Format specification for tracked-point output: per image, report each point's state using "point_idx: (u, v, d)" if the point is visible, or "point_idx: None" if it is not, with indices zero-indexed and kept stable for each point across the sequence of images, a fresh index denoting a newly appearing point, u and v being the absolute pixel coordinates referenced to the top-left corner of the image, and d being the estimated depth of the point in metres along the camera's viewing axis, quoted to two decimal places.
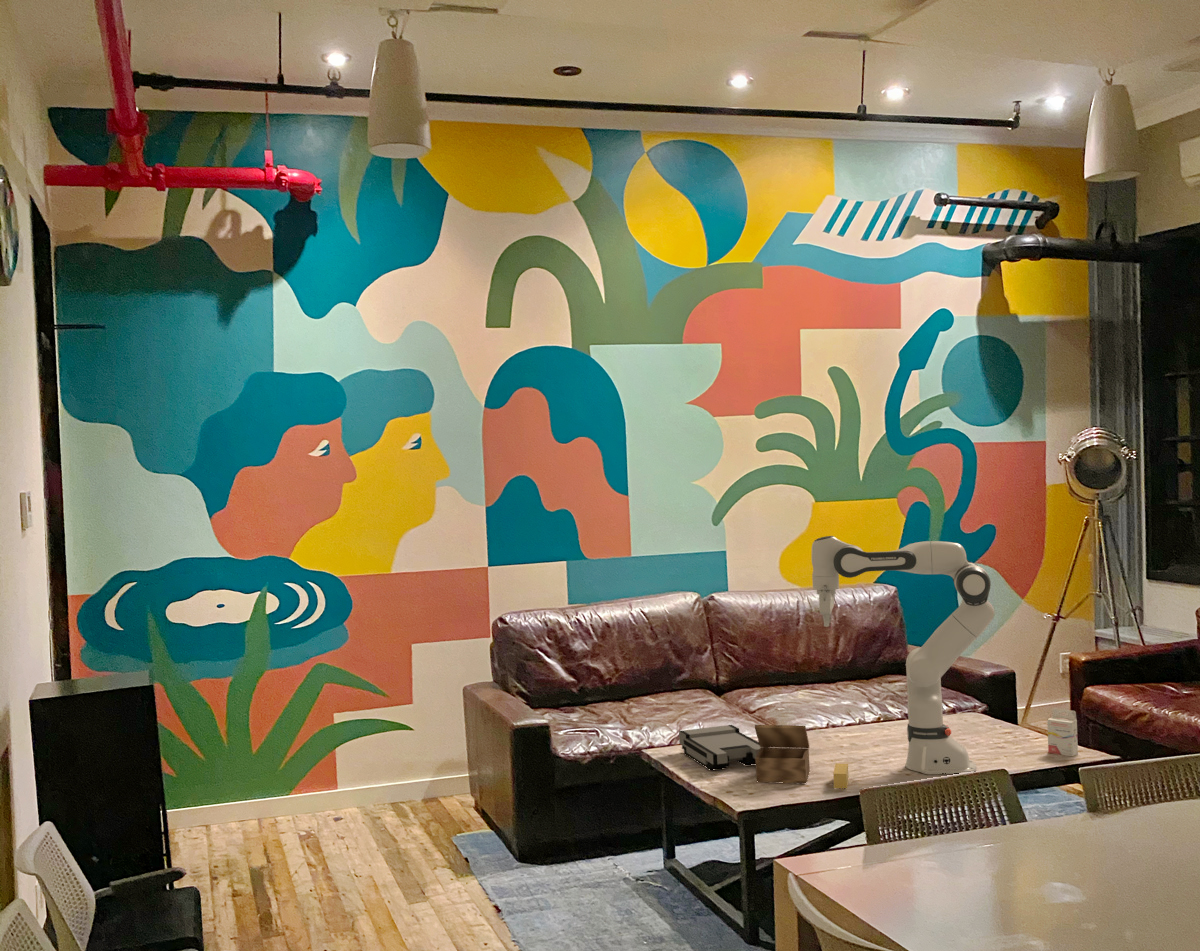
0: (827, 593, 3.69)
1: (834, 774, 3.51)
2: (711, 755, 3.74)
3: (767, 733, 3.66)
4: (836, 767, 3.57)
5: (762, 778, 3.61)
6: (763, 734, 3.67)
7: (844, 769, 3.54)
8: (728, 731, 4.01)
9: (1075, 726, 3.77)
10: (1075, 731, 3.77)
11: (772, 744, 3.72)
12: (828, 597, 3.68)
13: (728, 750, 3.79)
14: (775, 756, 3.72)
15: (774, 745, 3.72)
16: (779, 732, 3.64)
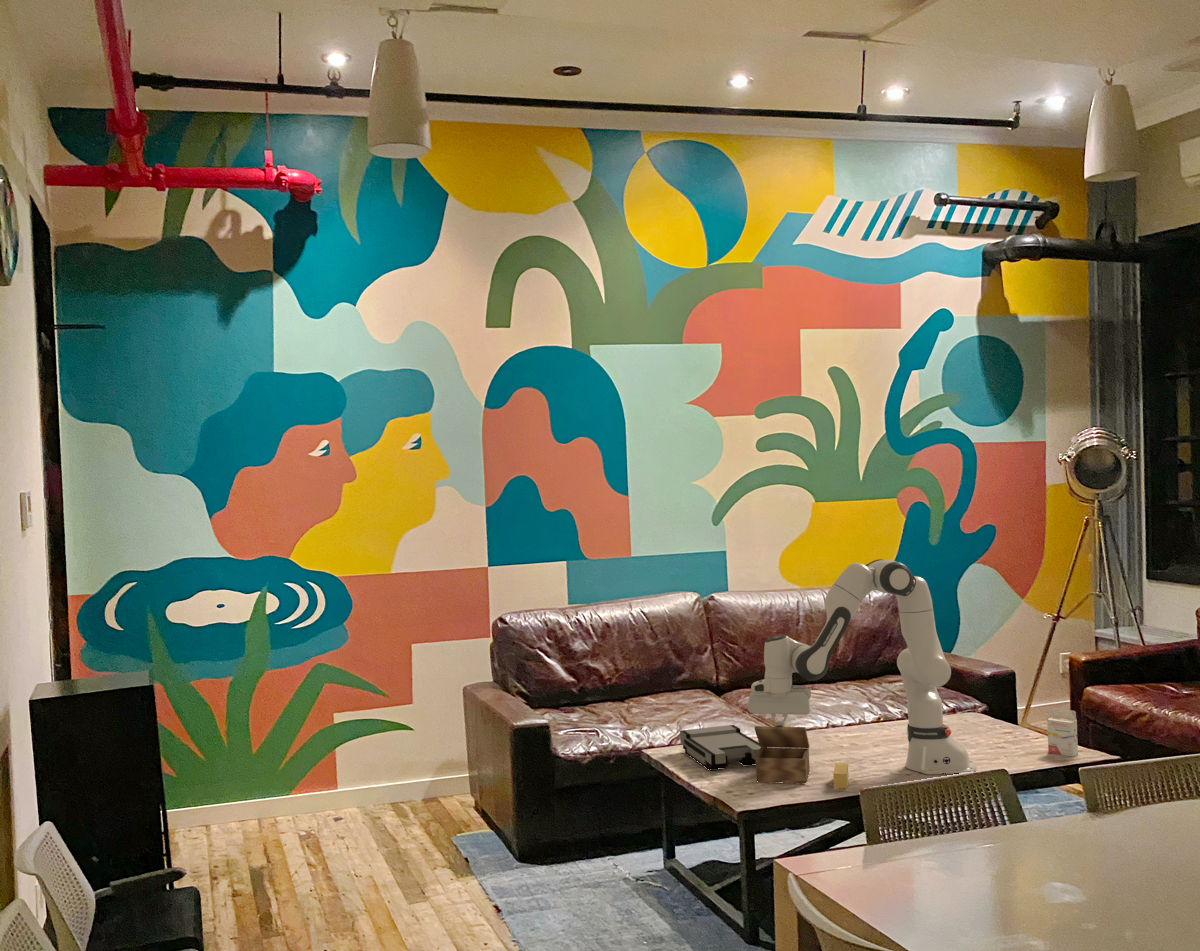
0: None
1: (834, 774, 3.51)
2: (709, 755, 3.74)
3: (767, 734, 3.66)
4: (836, 767, 3.57)
5: (762, 778, 3.61)
6: (763, 735, 3.67)
7: (844, 769, 3.54)
8: (729, 731, 4.01)
9: (1075, 726, 3.77)
10: (1075, 731, 3.77)
11: (772, 745, 3.72)
12: None
13: (727, 750, 3.79)
14: (775, 756, 3.72)
15: (774, 746, 3.72)
16: (779, 733, 3.64)
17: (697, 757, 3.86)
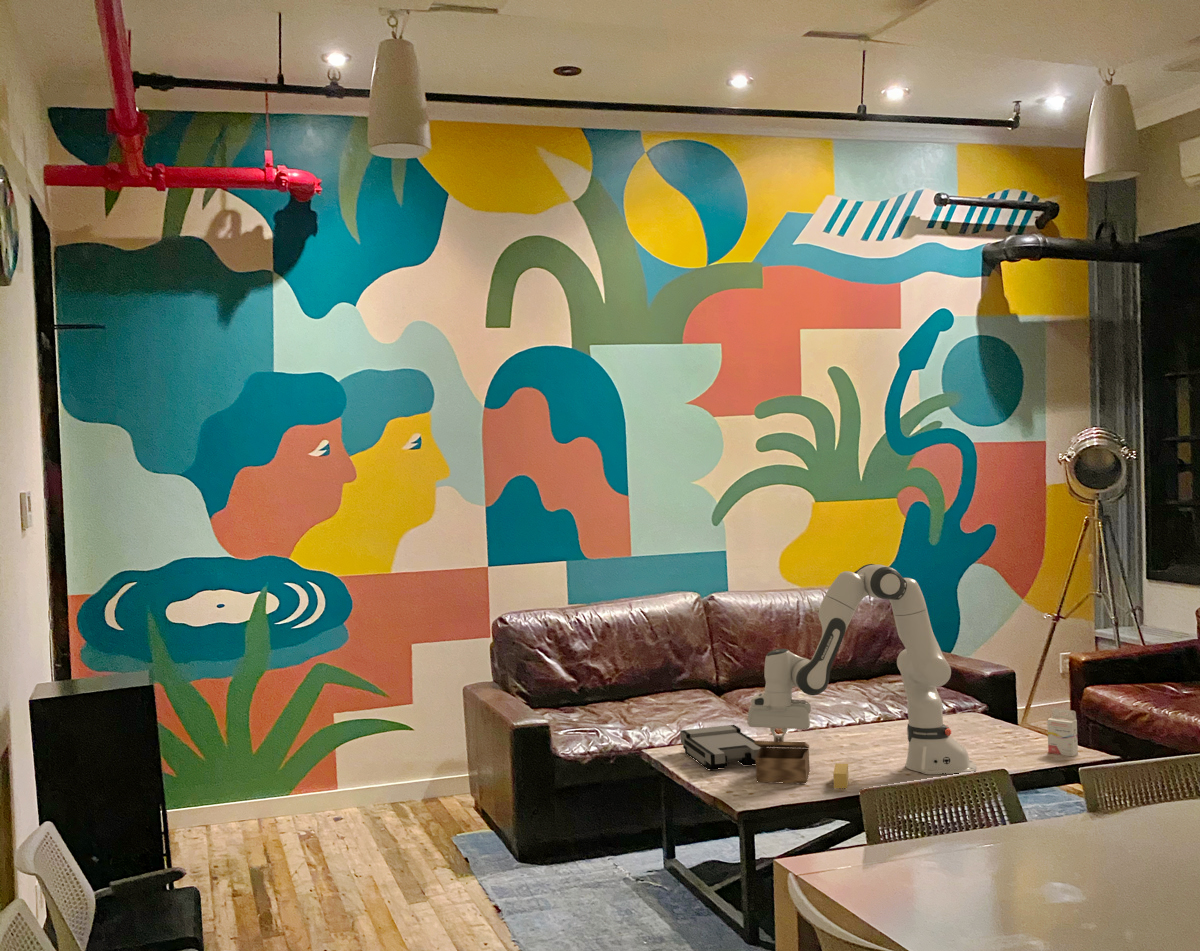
0: None
1: (834, 774, 3.51)
2: (709, 755, 3.74)
3: None
4: (836, 767, 3.57)
5: (762, 778, 3.61)
6: (763, 745, 3.65)
7: (844, 769, 3.54)
8: (729, 731, 4.01)
9: (1075, 726, 3.77)
10: (1075, 731, 3.77)
11: None
12: None
13: (726, 750, 3.79)
14: (775, 756, 3.72)
15: None
16: (778, 745, 3.62)
17: (697, 757, 3.86)
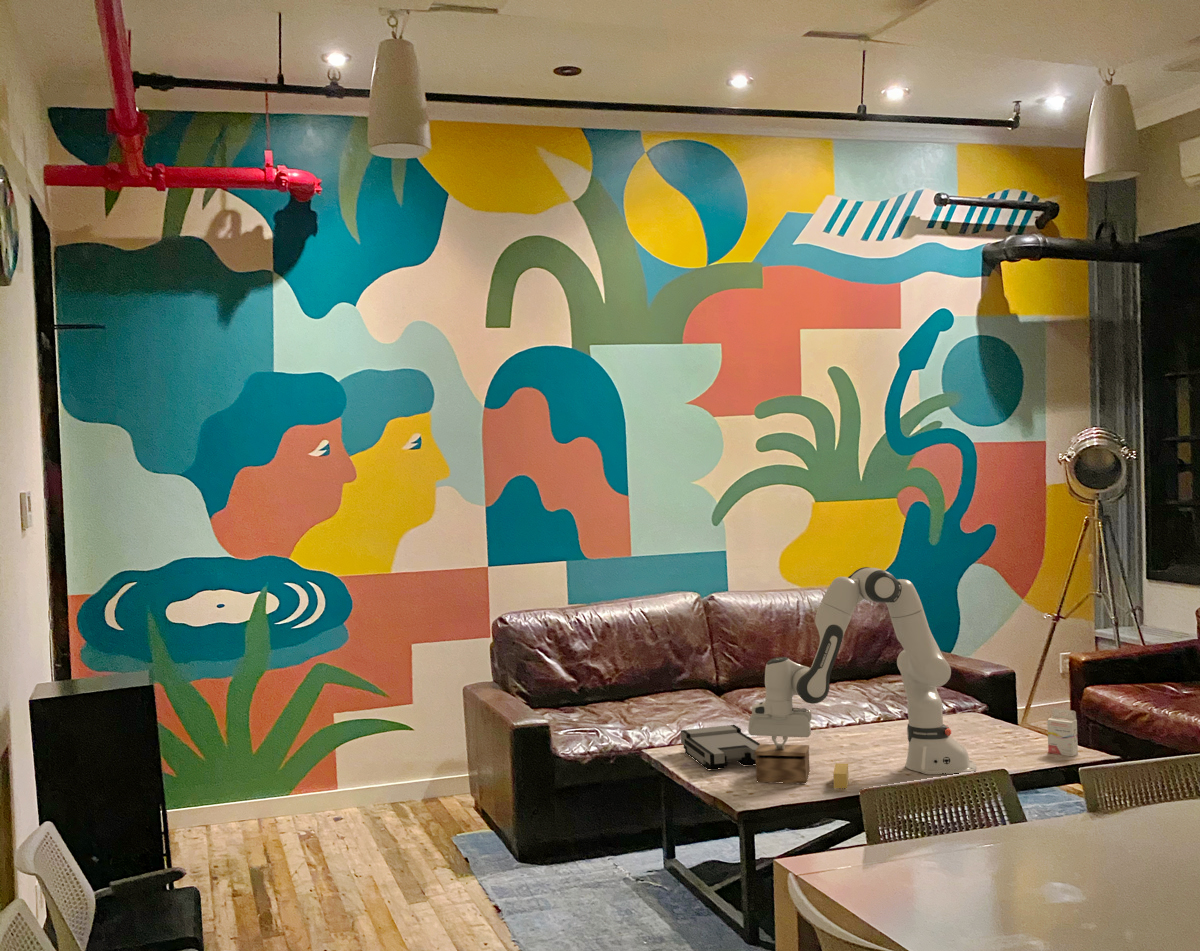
0: None
1: (834, 774, 3.51)
2: (708, 755, 3.74)
3: None
4: (836, 767, 3.57)
5: (762, 778, 3.61)
6: None
7: (844, 769, 3.54)
8: (729, 731, 4.01)
9: (1075, 726, 3.77)
10: (1075, 731, 3.77)
11: None
12: None
13: (726, 750, 3.79)
14: (775, 756, 3.72)
15: None
16: None
17: (697, 757, 3.86)
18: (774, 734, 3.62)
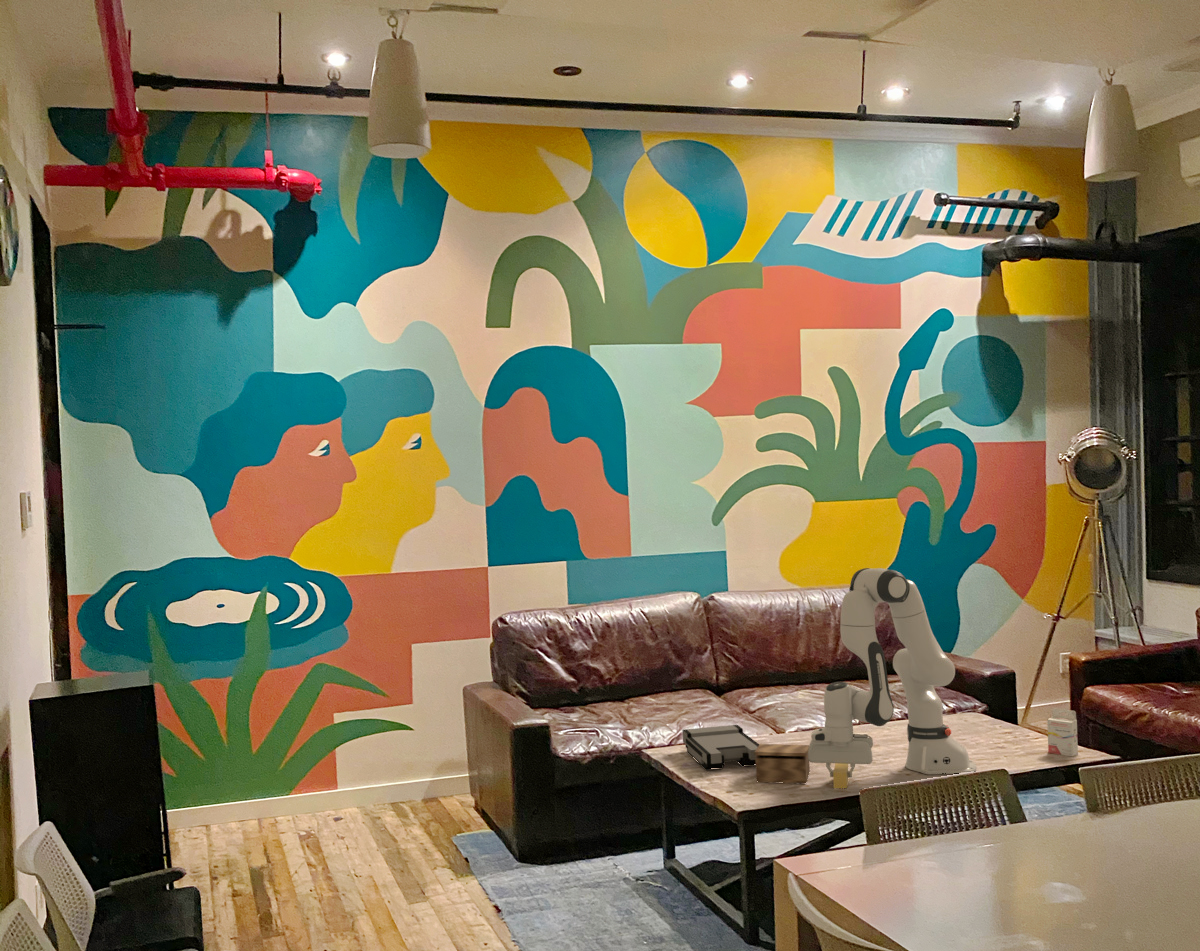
0: None
1: (834, 773, 3.51)
2: (705, 754, 3.75)
3: None
4: (836, 766, 3.57)
5: (762, 778, 3.61)
6: None
7: (844, 769, 3.54)
8: (731, 731, 4.01)
9: (1075, 726, 3.77)
10: (1075, 731, 3.77)
11: None
12: None
13: (724, 750, 3.79)
14: (775, 756, 3.72)
15: None
16: None
17: (696, 756, 3.87)
18: (835, 761, 3.55)
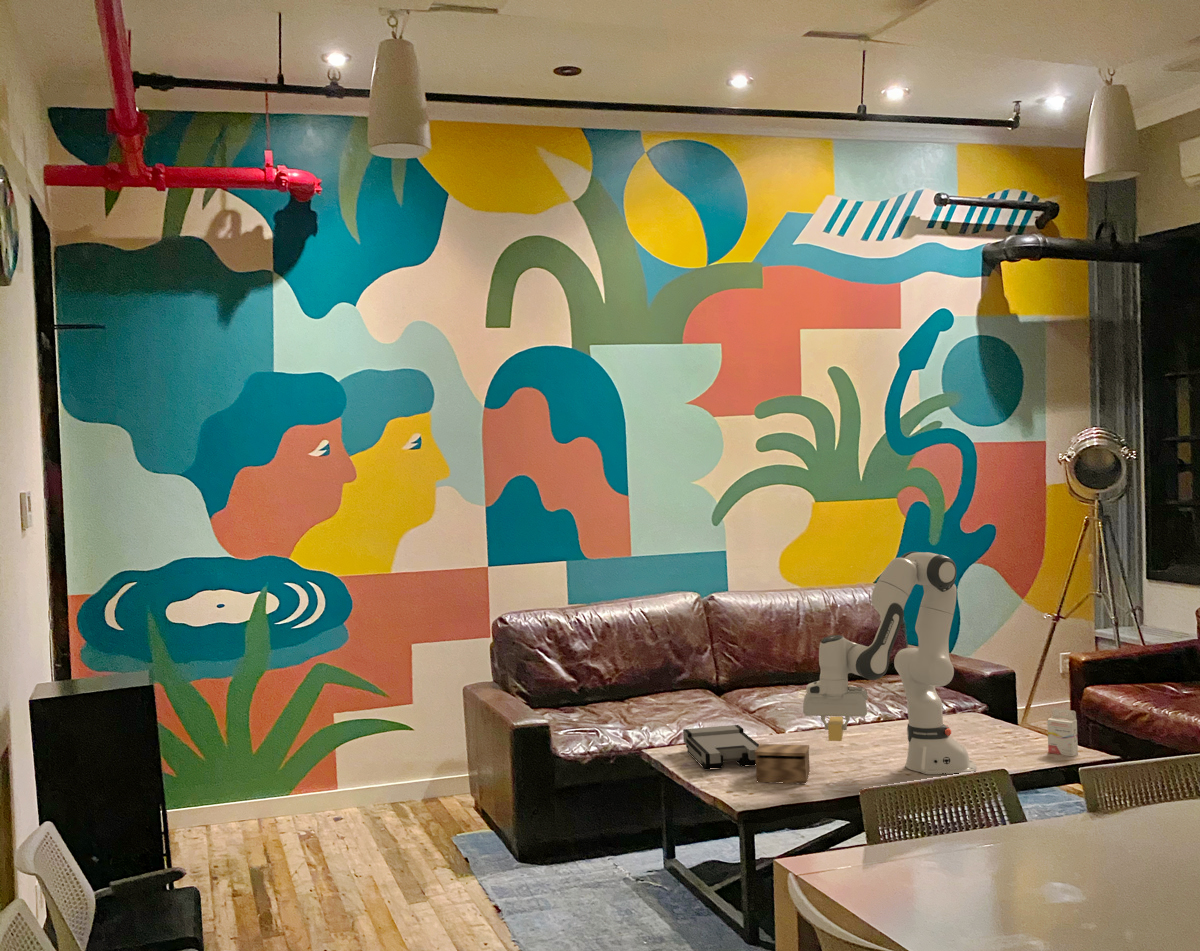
0: None
1: (829, 725, 3.51)
2: (704, 754, 3.75)
3: None
4: (831, 719, 3.58)
5: (762, 778, 3.61)
6: None
7: (839, 721, 3.55)
8: (732, 731, 4.01)
9: (1075, 726, 3.77)
10: (1075, 731, 3.77)
11: None
12: None
13: (723, 750, 3.79)
14: (775, 756, 3.72)
15: None
16: None
17: (695, 756, 3.87)
18: (830, 714, 3.55)
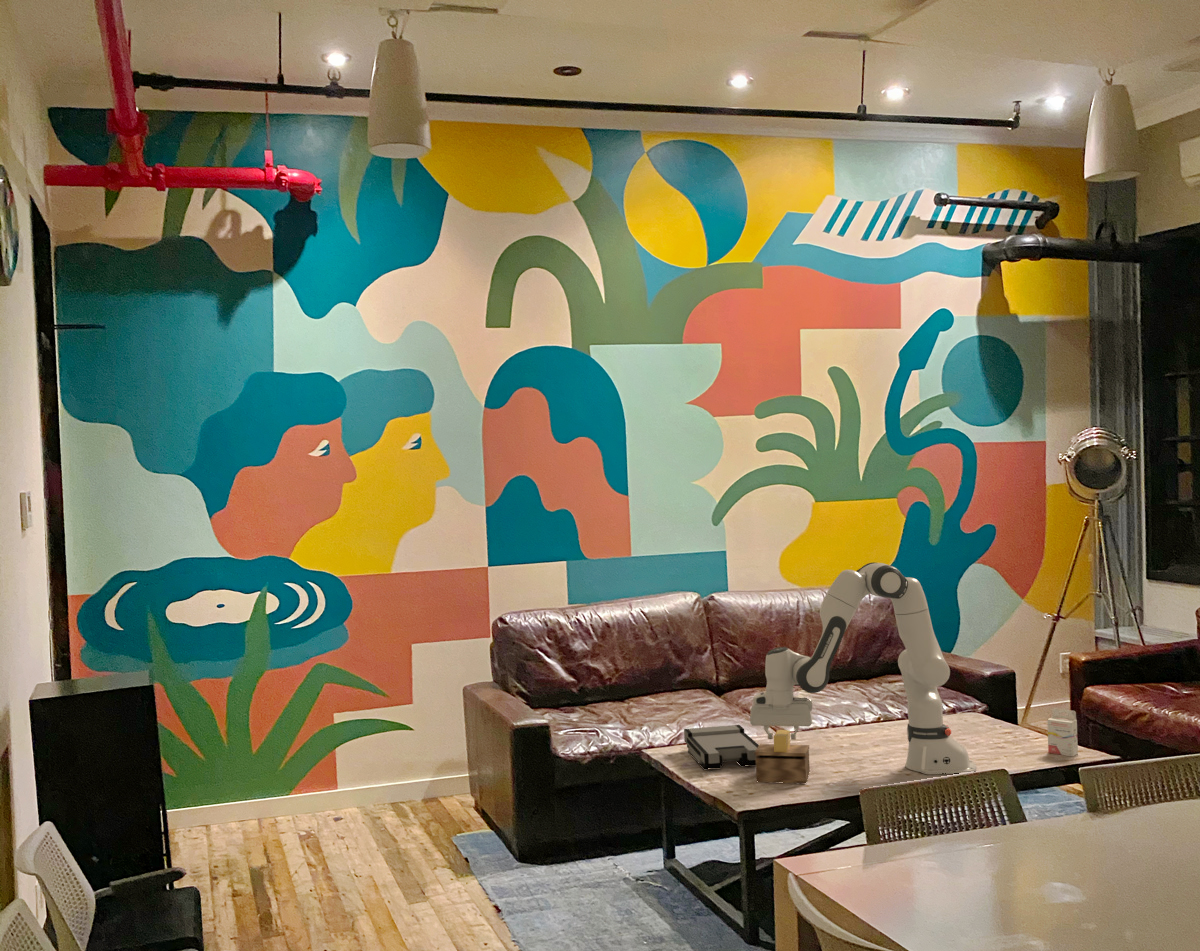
0: None
1: (774, 737, 3.61)
2: (703, 754, 3.75)
3: None
4: (777, 732, 3.67)
5: (762, 778, 3.61)
6: None
7: (785, 733, 3.64)
8: (732, 731, 4.01)
9: (1075, 726, 3.77)
10: (1075, 731, 3.77)
11: None
12: None
13: (722, 750, 3.79)
14: (775, 756, 3.72)
15: None
16: None
17: (695, 756, 3.88)
18: (776, 724, 3.64)
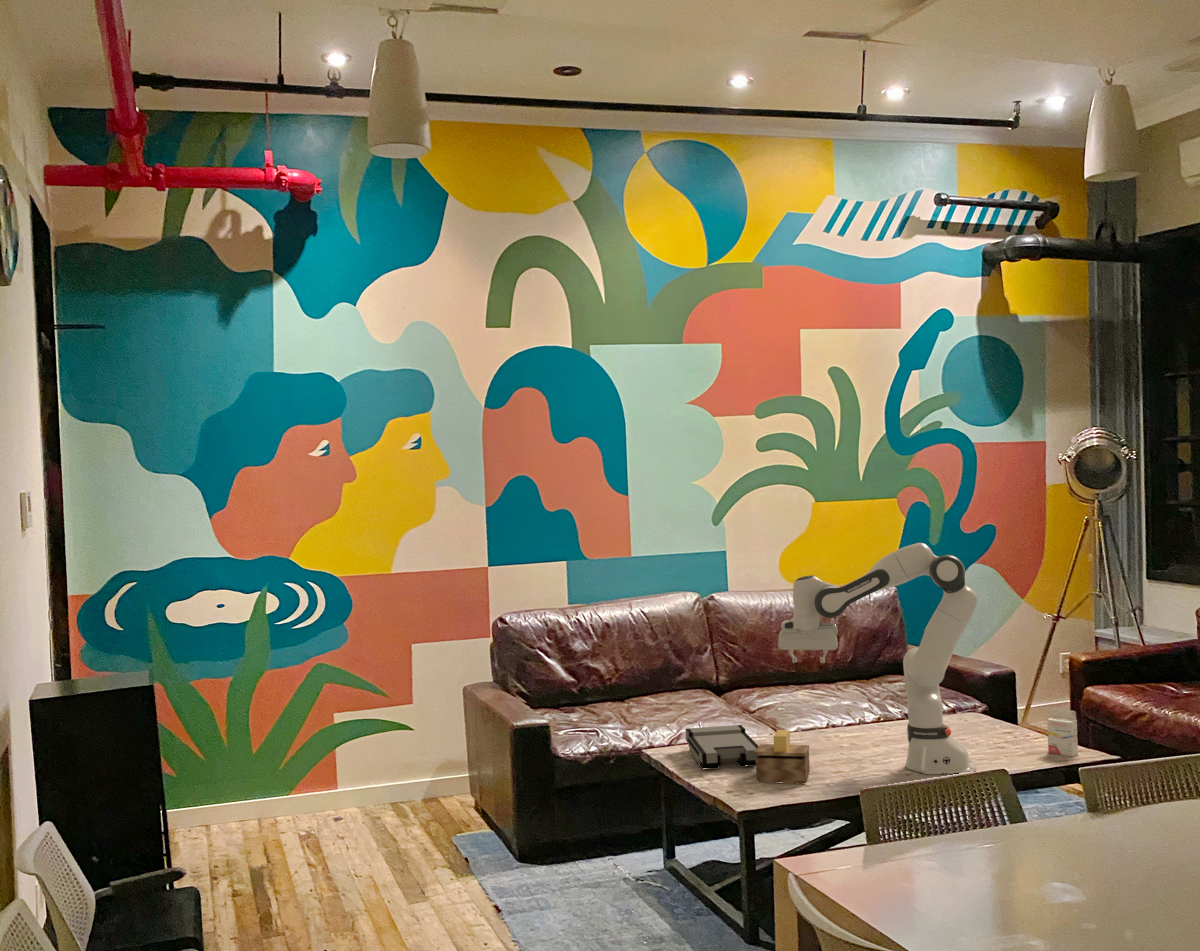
0: None
1: (774, 737, 3.61)
2: (701, 754, 3.76)
3: None
4: (777, 732, 3.67)
5: (762, 778, 3.61)
6: None
7: (785, 733, 3.64)
8: (733, 731, 4.01)
9: (1075, 726, 3.77)
10: (1075, 731, 3.77)
11: None
12: None
13: (721, 750, 3.79)
14: (775, 756, 3.72)
15: None
16: None
17: (695, 756, 3.88)
18: (803, 648, 3.82)
